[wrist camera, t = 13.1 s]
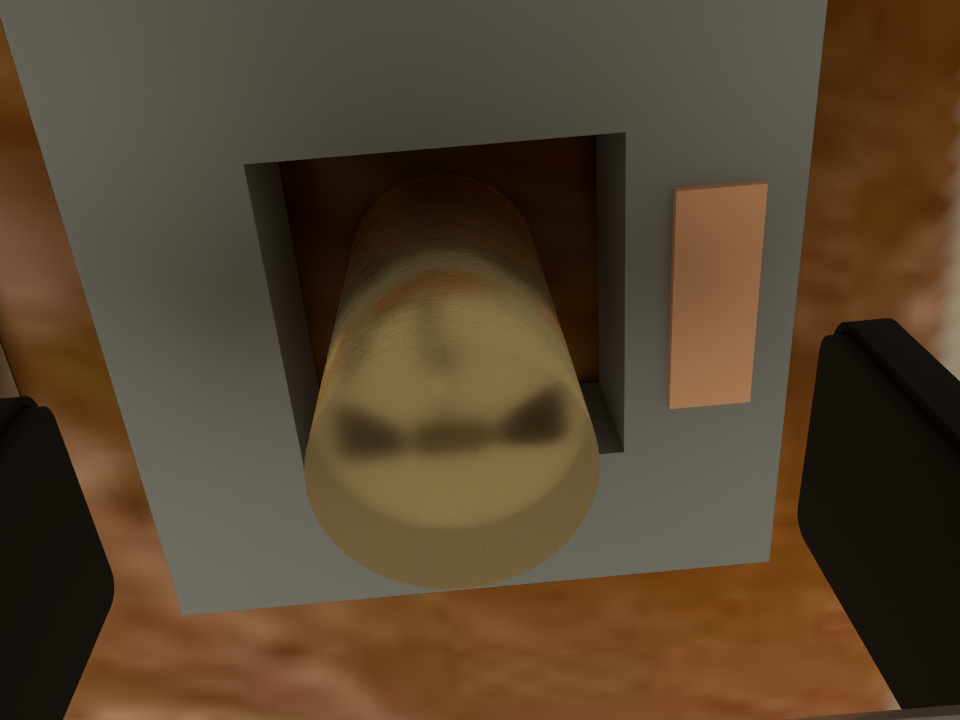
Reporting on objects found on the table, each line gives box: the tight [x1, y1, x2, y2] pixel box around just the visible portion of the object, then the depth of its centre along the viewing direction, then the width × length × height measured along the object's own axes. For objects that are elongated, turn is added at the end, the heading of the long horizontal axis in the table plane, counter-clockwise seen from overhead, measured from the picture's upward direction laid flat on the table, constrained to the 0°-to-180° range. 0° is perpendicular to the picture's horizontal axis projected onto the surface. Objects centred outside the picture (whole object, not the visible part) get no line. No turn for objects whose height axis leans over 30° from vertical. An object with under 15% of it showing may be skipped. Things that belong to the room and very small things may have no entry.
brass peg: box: [304, 174, 600, 589], centre depth 15 cm, size 4×4×8 cm
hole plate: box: [0, 0, 827, 615], centre depth 17 cm, size 13×13×3 cm
